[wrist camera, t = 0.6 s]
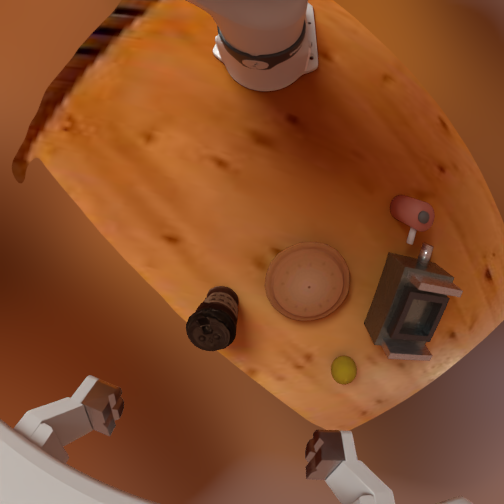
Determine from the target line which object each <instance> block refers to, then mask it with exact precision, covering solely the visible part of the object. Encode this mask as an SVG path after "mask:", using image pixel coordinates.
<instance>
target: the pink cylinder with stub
mask: <svg viewBox="0 0 504 504" xmlns="http://www.w3.org/2000/svg"><path fill="white" fill-rule="evenodd" d="M390 212H391V214H392V216H393V217H394V218H395V219H397V220H399V221H401V222H403V223H405V224H407V225H408V226H410V227H411V228H410V231H409V235H408V238H407V242H406V243H408V244H412V245H413V242H414V238H415V235H416V231H417V230H418V231H426V230H428V229H429V228H430V227H431V226H432V224H433V222H434V210H433V208H432V206H431V205H430V204H428V203H426V202H423V201H420V200H417V199H414V198H411V197H408V196H404V195H398V196H396V197H394V198H393V200H392V201H391V204H390Z"/></svg>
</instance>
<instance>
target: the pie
mask: <svg viewBox="0 0 504 504" xmlns="http://www.w3.org/2000/svg"><path fill="white" fill-rule="evenodd" d="M265 290H266V294H267V297H268V299H269V301H270V303H271V304H272V306H273V307H274V308H275V309H277V310H278V311H279V312H280V313H281V314H283V315H285V316H287V317H289V318H290V319H294V320H300V321H309V320H316V319H319V318H323V317H325V316H327V315H329V314H330V313H332V312H333V311H335V310H336V309H337V308H338V307H339V306H340V305H341V304H342V302H343V301H344V299H345V297H346V296H347V294H348V290H349V269H348V267H347V264H346V262H345V260H344V258H343V257H342V256H341V255H340V254H339V252H338V251H337V250H335V249H333V248H332V247H330V246H328V245H327V244H322V243H317V242H301V243H298V244H296V245H293V246H291V247H288V248H287V249H285V250H283V251H282V252H280V253H278V254H277V256H276V257H275V258H274V259H273V261H272V262H271V263H270V266H269V268H268V271H267V274H266V280H265Z"/></svg>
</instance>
